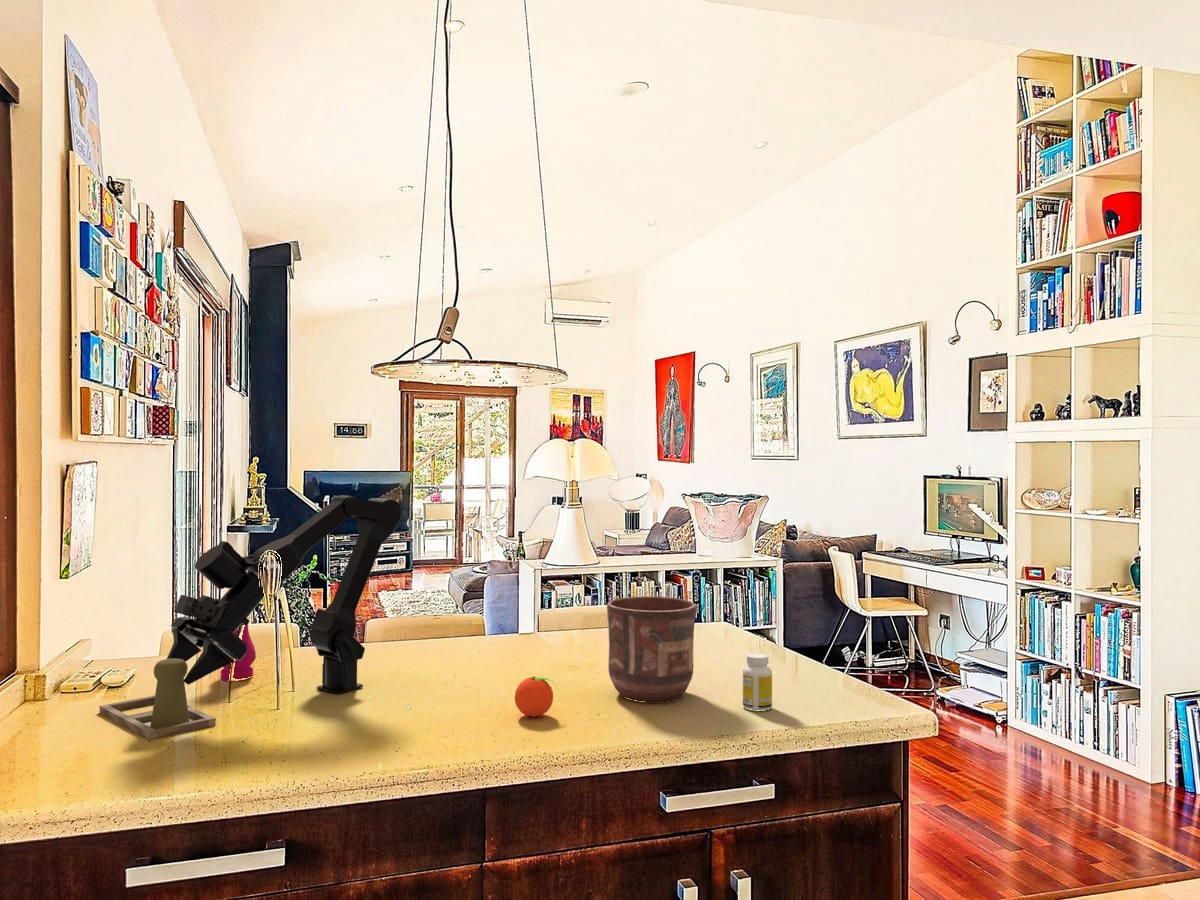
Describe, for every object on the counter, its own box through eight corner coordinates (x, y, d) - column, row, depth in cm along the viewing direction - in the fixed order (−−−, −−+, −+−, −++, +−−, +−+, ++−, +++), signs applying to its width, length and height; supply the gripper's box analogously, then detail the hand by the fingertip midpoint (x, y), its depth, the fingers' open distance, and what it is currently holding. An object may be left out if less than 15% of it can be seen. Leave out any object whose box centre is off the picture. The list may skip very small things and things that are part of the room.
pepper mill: (242, 683, 181) (243, 584, 181) (210, 681, 182) (211, 582, 182) (262, 674, 188) (263, 579, 188) (231, 672, 189) (232, 578, 190)
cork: (151, 720, 155) (152, 657, 155) (190, 717, 157) (190, 654, 157) (149, 731, 149) (149, 664, 149) (189, 727, 152) (189, 662, 152)
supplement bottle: (773, 705, 169) (774, 653, 169) (769, 713, 164) (770, 659, 164) (745, 702, 170) (745, 651, 171) (740, 710, 165) (740, 657, 165)
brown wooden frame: (215, 725, 153) (215, 718, 153) (149, 739, 145) (149, 732, 145) (162, 700, 168) (162, 694, 168) (99, 712, 160) (99, 705, 160)
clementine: (556, 709, 165) (556, 671, 165) (561, 721, 158) (561, 680, 158) (512, 711, 163) (513, 672, 163) (515, 722, 157) (516, 682, 157)
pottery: (708, 689, 180) (708, 599, 180) (678, 712, 164) (678, 613, 164) (627, 680, 187) (627, 593, 187) (591, 700, 171) (591, 606, 171)
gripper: (182, 572, 164) (117, 642, 156) (229, 582, 151) (162, 659, 143) (224, 609, 170) (164, 678, 161) (273, 622, 157) (211, 698, 149)
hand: (174, 678), depth 154 cm, fingers open, 9 cm apart
